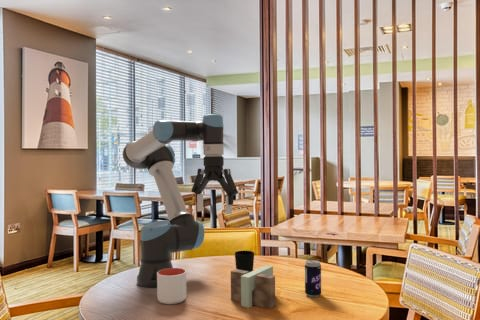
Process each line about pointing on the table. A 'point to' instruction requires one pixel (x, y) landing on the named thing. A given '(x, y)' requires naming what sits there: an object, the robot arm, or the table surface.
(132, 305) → the table surface
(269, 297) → the walnut stand
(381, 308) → the table surface
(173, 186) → the robot arm
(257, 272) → the sage plate
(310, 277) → the beverage can
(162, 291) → the cup
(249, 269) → the cup
